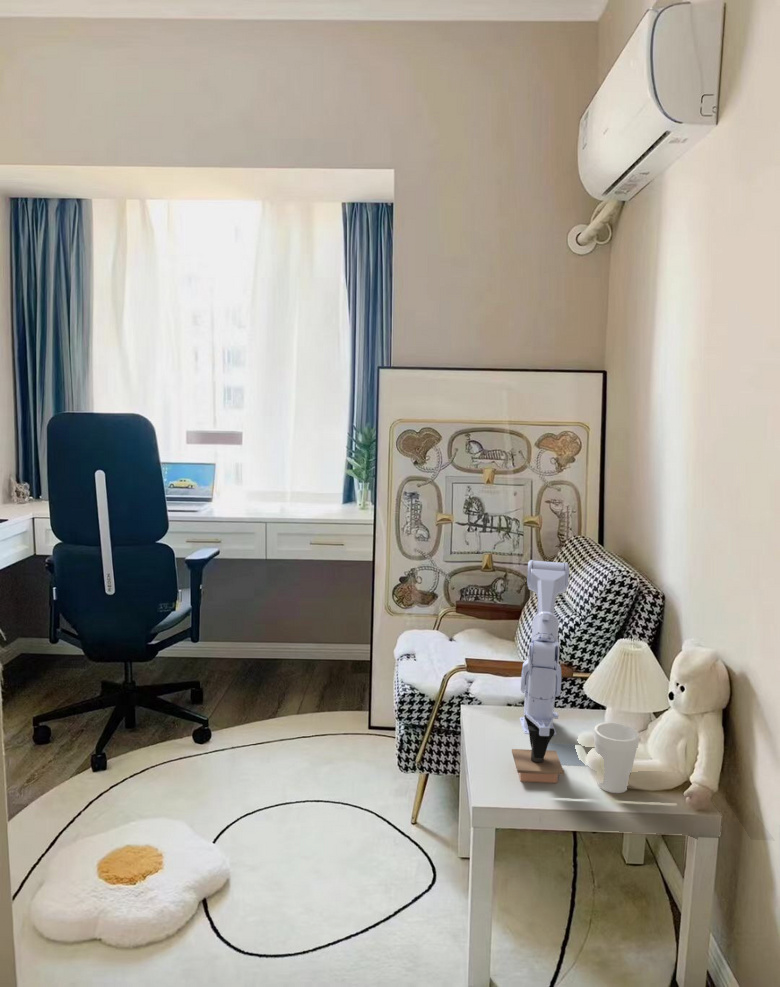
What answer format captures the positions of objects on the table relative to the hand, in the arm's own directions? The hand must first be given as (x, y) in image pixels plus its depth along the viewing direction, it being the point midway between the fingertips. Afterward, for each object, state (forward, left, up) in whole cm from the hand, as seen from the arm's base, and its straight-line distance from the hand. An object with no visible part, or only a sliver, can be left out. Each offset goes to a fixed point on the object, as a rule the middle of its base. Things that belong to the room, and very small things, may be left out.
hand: (537, 752), depth 183 cm
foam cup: (+4, +16, -6) cm, 17 cm away
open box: (0, 0, -5) cm, 5 cm away
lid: (0, 0, -2) cm, 2 cm away
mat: (-10, +8, -5) cm, 14 cm away
